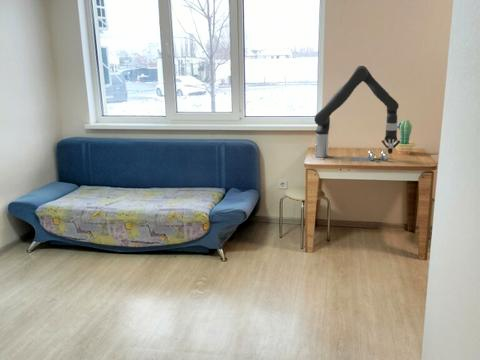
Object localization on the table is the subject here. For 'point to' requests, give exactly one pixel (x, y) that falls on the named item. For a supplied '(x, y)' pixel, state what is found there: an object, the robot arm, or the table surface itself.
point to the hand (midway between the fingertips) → (390, 153)
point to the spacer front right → (385, 157)
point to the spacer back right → (382, 154)
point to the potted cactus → (404, 137)
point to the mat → (362, 159)
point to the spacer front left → (372, 156)
